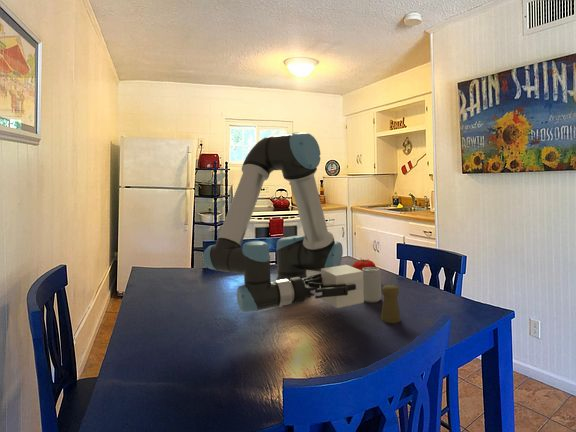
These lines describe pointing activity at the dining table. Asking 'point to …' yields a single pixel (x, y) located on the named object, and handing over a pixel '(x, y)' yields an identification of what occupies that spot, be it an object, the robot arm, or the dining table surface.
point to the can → (372, 284)
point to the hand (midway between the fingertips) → (353, 280)
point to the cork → (390, 304)
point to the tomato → (363, 264)
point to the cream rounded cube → (340, 277)
